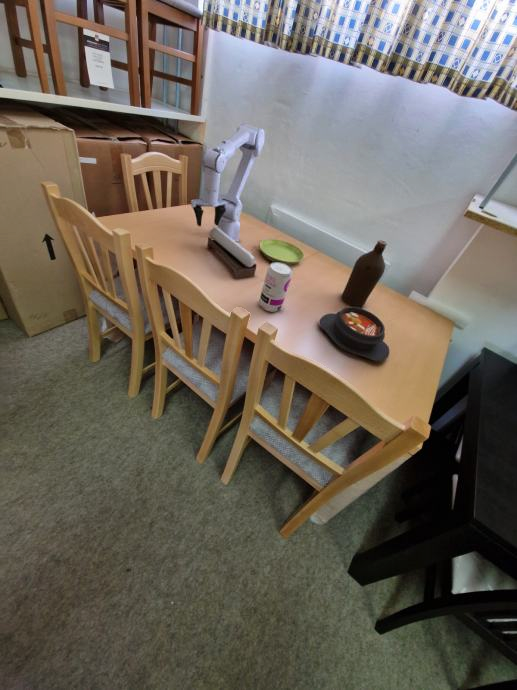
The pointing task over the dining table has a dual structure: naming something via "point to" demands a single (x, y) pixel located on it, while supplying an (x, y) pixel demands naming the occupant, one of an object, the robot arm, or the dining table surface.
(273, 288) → the supplement can
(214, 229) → the grey octagonal prism
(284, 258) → the saucer
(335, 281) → the dining table surface
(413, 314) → the dining table surface
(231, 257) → the dark brown tray
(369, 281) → the olive oil
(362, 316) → the casserole
